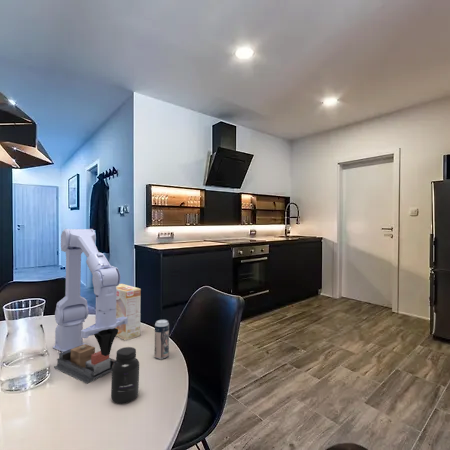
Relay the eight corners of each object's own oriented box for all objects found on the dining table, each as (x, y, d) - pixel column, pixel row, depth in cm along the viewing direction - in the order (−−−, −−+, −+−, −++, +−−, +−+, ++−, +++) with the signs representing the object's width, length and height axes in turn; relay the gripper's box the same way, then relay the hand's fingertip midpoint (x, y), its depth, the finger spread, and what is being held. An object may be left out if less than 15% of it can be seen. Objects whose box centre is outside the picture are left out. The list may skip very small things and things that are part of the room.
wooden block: (70, 365, 89) (70, 347, 89) (85, 359, 93) (85, 342, 93) (79, 369, 86) (80, 351, 86) (94, 363, 90) (94, 345, 90)
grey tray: (54, 367, 88) (54, 355, 88) (86, 354, 97) (87, 342, 97) (87, 383, 79) (87, 369, 79) (119, 367, 89) (119, 354, 89)
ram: (85, 371, 84) (85, 353, 84) (102, 364, 89) (102, 346, 89) (93, 375, 82) (94, 356, 82) (110, 367, 87) (110, 349, 87)
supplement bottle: (122, 408, 69) (123, 359, 69) (105, 399, 72) (106, 352, 72) (144, 394, 75) (145, 348, 75) (127, 386, 78) (127, 343, 78)
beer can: (165, 360, 94) (165, 324, 94) (152, 358, 95) (152, 323, 95) (170, 354, 98) (171, 319, 98) (158, 352, 99) (158, 318, 99)
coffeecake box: (106, 331, 119) (106, 285, 119) (121, 327, 124) (122, 283, 124) (124, 341, 109) (125, 290, 109) (140, 335, 115) (141, 288, 115)
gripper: (92, 317, 76) (91, 368, 76) (134, 305, 88) (134, 348, 88) (76, 313, 79) (76, 361, 79) (119, 301, 92) (118, 343, 92)
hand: (105, 354), depth 84 cm, fingers closed
